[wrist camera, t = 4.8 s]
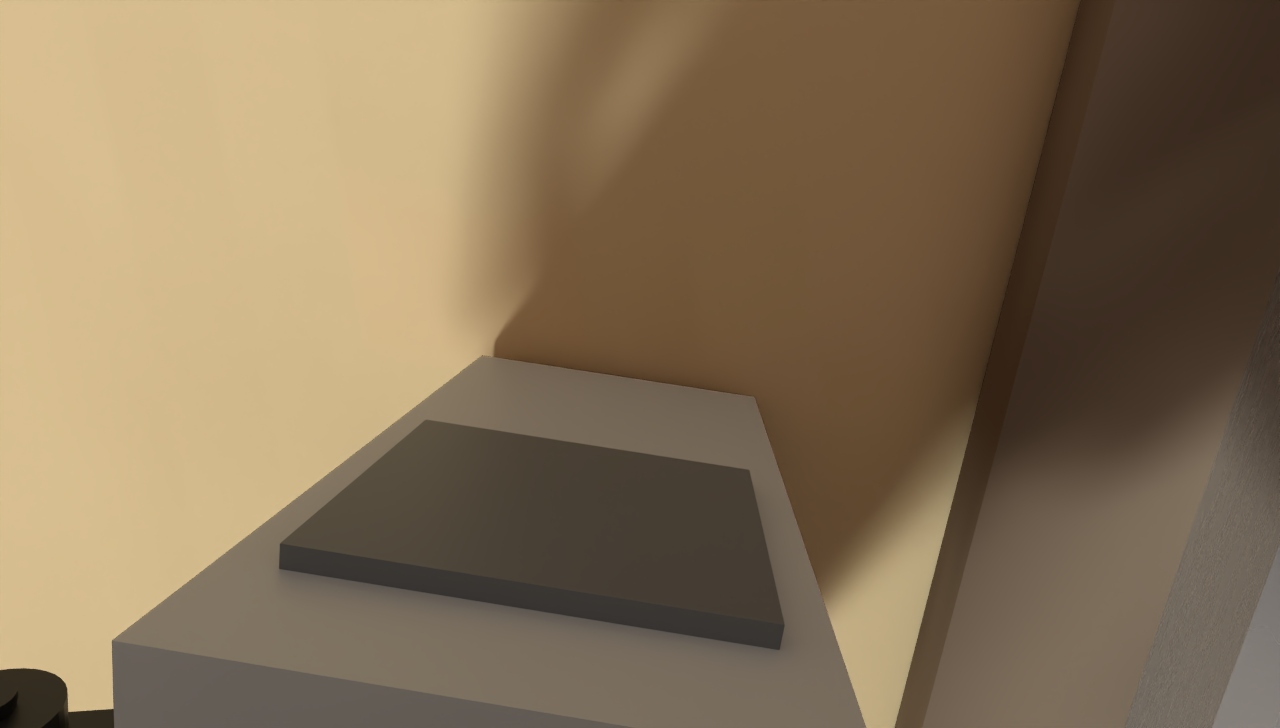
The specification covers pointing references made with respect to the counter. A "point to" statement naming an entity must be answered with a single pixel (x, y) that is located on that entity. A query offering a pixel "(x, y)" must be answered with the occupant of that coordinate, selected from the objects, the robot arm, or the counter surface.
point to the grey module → (512, 577)
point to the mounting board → (1108, 367)
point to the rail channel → (1227, 574)
